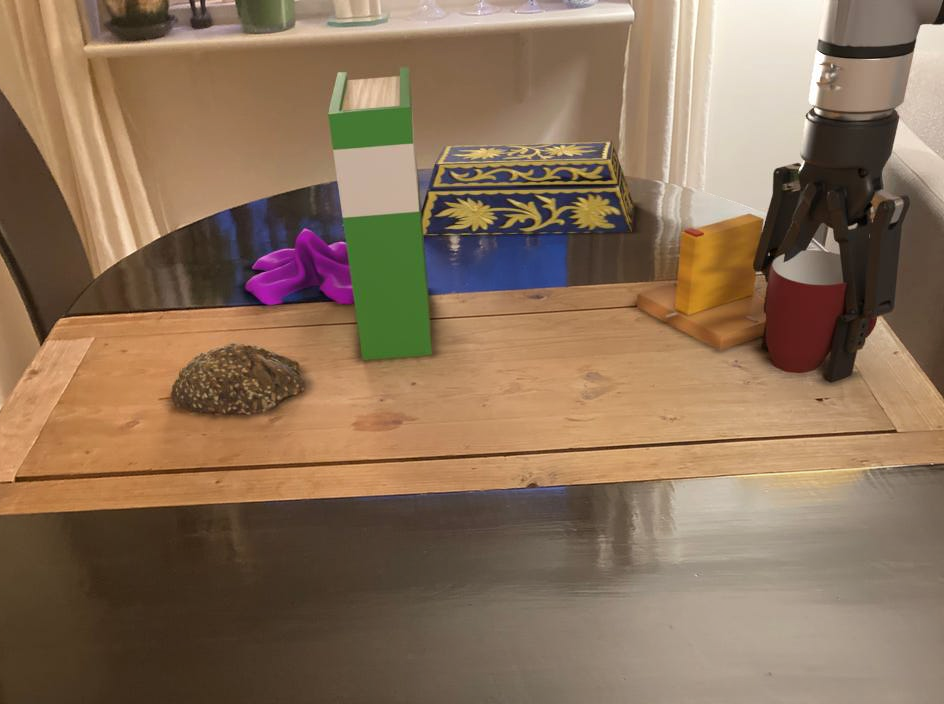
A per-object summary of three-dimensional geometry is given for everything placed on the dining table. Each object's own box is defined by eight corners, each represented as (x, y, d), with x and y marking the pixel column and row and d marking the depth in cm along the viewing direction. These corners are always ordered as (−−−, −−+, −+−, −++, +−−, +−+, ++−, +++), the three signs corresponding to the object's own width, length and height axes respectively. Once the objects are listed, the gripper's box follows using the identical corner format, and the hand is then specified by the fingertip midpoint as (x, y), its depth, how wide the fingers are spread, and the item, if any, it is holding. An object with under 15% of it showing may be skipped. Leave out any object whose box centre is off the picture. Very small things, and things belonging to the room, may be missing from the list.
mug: (850, 346, 98) (875, 248, 91) (872, 385, 92) (900, 283, 85) (746, 348, 98) (763, 251, 91) (761, 387, 93) (780, 286, 86)
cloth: (389, 305, 113) (383, 253, 109) (234, 317, 113) (222, 264, 109) (393, 240, 130) (388, 193, 126) (258, 250, 130) (248, 203, 126)
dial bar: (739, 288, 106) (749, 210, 100) (753, 294, 104) (764, 216, 99) (674, 308, 103) (681, 229, 97) (687, 315, 101) (695, 235, 96)
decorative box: (425, 212, 138) (419, 144, 132) (635, 208, 134) (639, 138, 128) (412, 238, 130) (406, 167, 124) (635, 235, 126) (639, 161, 120)
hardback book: (367, 299, 115) (337, 72, 99) (428, 294, 115) (408, 66, 99) (363, 363, 102) (328, 113, 86) (432, 358, 102) (409, 107, 86)
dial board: (803, 325, 102) (807, 306, 101) (707, 358, 98) (709, 338, 96) (716, 286, 112) (718, 267, 110) (624, 314, 107) (625, 295, 106)
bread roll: (157, 409, 97) (143, 363, 93) (230, 358, 105) (220, 314, 102) (260, 430, 92) (250, 383, 89) (328, 375, 100) (321, 329, 97)
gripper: (734, 94, 86) (706, 336, 101) (923, 142, 72) (857, 415, 87) (796, 80, 88) (760, 318, 103) (991, 124, 74) (916, 392, 89)
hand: (804, 362), depth 95 cm, fingers closed on mug, 8 cm apart
